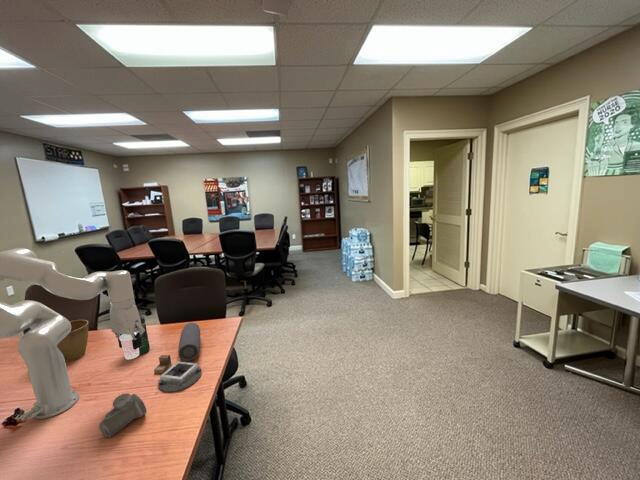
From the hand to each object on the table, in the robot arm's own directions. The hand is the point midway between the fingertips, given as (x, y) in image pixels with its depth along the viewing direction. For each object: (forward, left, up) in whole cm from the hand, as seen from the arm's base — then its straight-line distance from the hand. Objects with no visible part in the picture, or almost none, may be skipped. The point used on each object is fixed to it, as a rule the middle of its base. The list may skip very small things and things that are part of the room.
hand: (130, 346), depth 108 cm
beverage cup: (0, 0, -4) cm, 4 cm away
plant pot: (+12, +52, -18) cm, 56 cm away
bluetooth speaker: (+27, -3, -18) cm, 33 cm away
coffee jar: (+22, +23, -18) cm, 37 cm away
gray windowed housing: (+8, -13, -18) cm, 24 cm away
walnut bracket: (+12, 0, -18) cm, 22 cm away
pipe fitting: (-16, -11, -19) cm, 27 cm away
